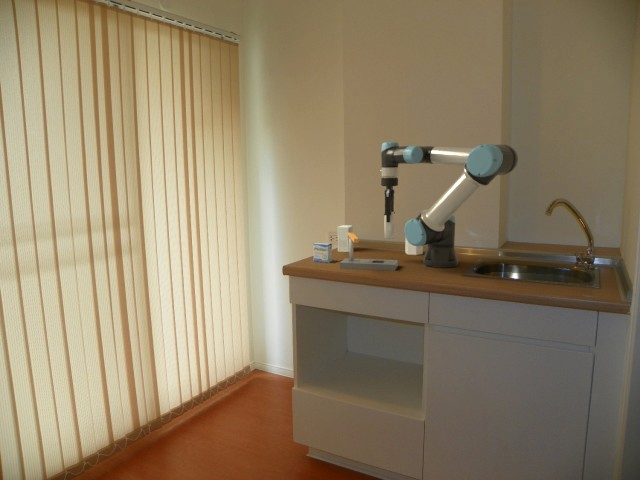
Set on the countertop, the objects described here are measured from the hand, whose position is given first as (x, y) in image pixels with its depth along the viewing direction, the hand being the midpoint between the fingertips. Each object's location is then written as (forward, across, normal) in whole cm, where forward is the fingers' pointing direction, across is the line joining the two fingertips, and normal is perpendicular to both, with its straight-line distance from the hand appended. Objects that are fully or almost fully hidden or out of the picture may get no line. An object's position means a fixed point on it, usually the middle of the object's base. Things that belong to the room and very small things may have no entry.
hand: (389, 228), depth 224 cm
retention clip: (+2, +20, -12) cm, 24 cm away
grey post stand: (+16, +13, -7) cm, 22 cm away
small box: (+16, -27, -27) cm, 41 cm away
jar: (+16, -25, +9) cm, 31 cm away
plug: (+4, 0, 0) cm, 4 cm away
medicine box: (+16, +3, -31) cm, 35 cm away
